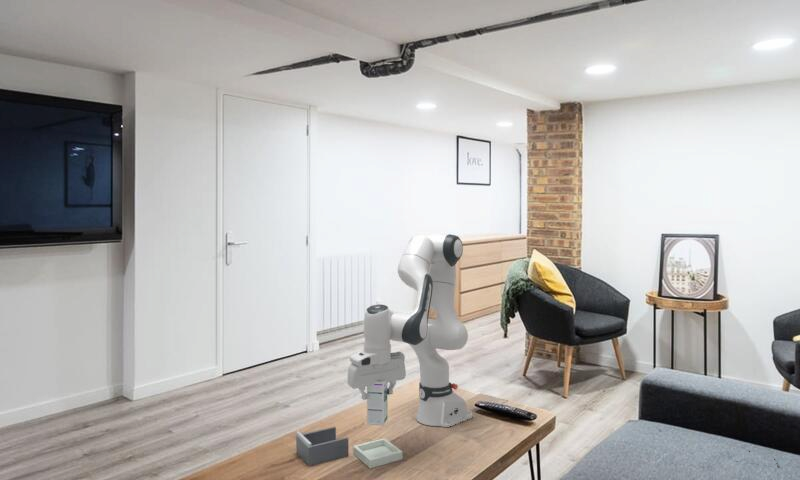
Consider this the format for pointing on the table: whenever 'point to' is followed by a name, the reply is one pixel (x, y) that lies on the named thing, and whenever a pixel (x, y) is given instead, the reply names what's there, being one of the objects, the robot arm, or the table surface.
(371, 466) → the tray
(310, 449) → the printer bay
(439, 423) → the robot arm
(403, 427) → the table surface
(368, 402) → the syrup box
